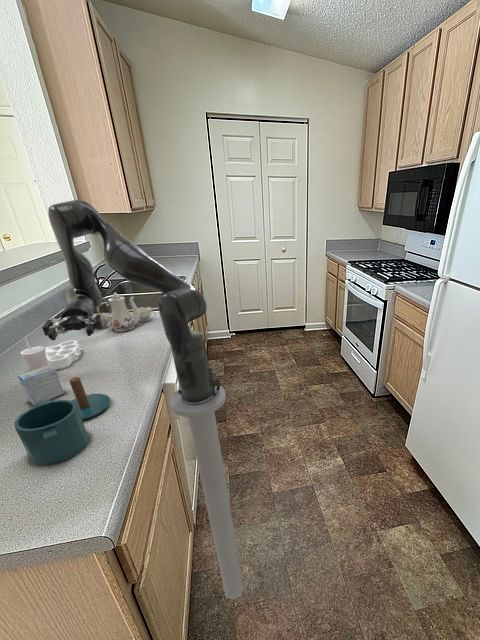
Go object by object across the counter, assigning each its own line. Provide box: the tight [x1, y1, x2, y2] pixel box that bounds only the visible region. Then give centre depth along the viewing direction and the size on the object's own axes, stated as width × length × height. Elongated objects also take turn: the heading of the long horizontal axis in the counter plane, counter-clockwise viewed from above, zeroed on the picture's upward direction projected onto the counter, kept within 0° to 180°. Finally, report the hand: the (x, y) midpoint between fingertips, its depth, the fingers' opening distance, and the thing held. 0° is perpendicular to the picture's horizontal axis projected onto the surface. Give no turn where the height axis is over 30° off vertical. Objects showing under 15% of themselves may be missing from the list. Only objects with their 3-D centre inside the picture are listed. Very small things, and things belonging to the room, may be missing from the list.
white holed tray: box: [45, 340, 85, 370], centre depth 120 cm, size 3×18×15 cm
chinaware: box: [92, 291, 157, 333], centre depth 146 cm, size 28×17×17 cm, turn 122°
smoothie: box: [20, 336, 48, 371], centre depth 105 cm, size 6×6×14 cm
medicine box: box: [17, 365, 65, 407], centre depth 95 cm, size 8×4×9 cm, turn 145°
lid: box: [68, 376, 111, 421], centre depth 90 cm, size 12×12×10 cm
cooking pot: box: [14, 399, 90, 466], centre depth 76 cm, size 11×17×10 cm
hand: (70, 335), depth 91 cm, fingers open, 8 cm apart
